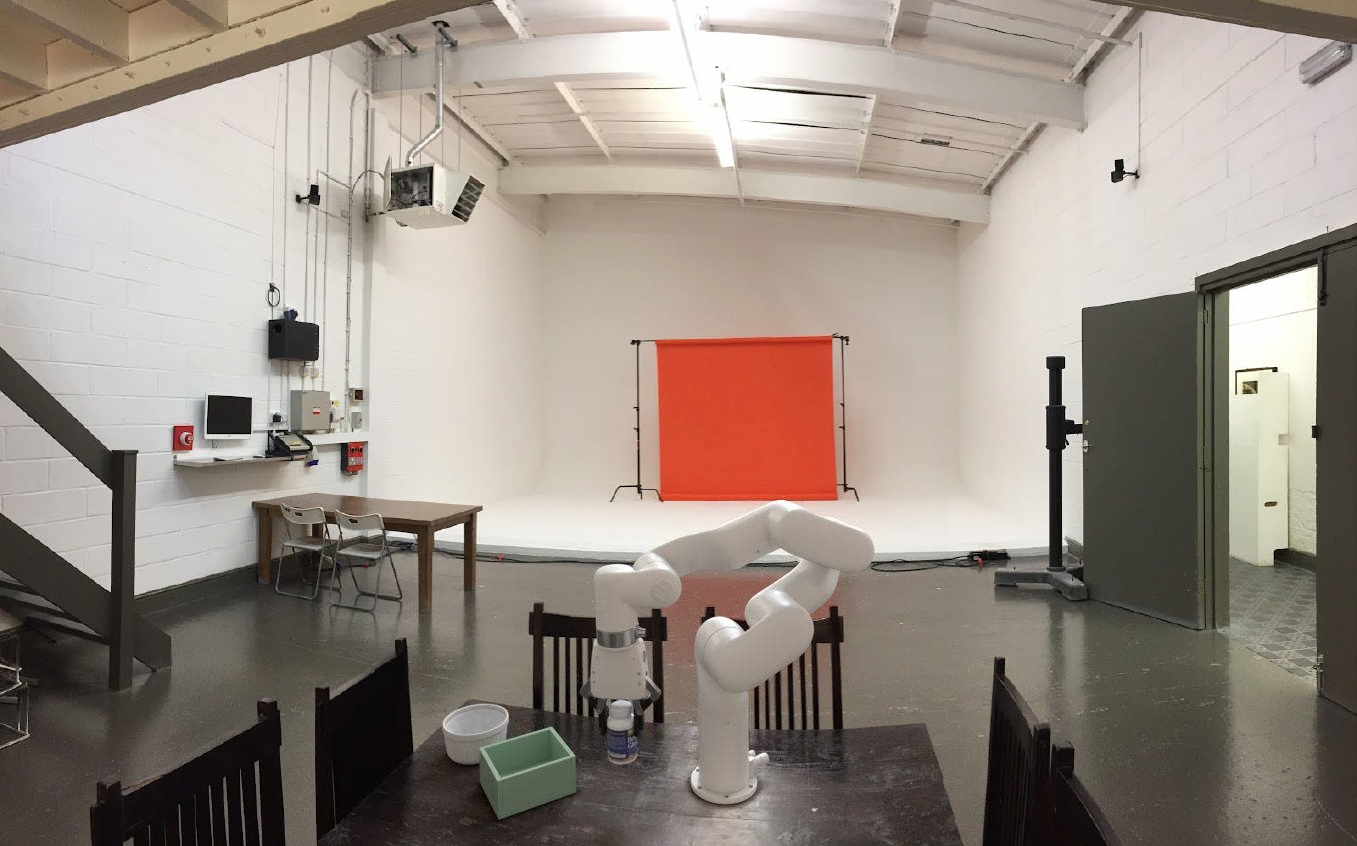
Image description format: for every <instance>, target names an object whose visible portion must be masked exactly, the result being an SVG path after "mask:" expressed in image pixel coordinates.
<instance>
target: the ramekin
mask: <svg viewBox="0 0 1357 846" xmlns="http://www.w3.org/2000/svg"><path fill="white" fill-rule="evenodd" d="M509 715H510V714H509V711H508V710H507V709H506V708H505V707H503V706H501V705H498V704H493V703H477V704H476V703H475V704H470V705H466V706H463V707H461V708H458V709H456V710H453V711H452V712H450V713H449V714H448V715H447V716H446V717H445V718H444V719H443V721H442V727H441V728H442V730H441V731H442V734H443V738H444V744H445V749H446V754H447V756H448V757H449V758H450V759H451V761H453V762H455V763H457V764H459V765H465V766H466V765H467V766H468V765H477V764H480V761H479V748H480V747H484V746H487V745H491V744H494V743H498V742H501V741H504V740H507V733H508V724H509V722H510V718H509Z"/></svg>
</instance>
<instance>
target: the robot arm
mask: <svg viewBox="0 0 1357 846" xmlns="http://www.w3.org/2000/svg"><path fill="white" fill-rule="evenodd" d="M780 549H781V550H782V551H784V552H787V553H788V554H790V555H792V556H795V557H797V558H800V561H799V563H798V564H797V565H796V566H795V567H794V568H793V569H792V570H791V571H789V572H787V574H785V575H784V576H782V577H780V578H779V579H777V580H776V581H774V582H773V583H772V584H770V585H769V586H767V587H765V588H764V589H763V590H761V591H759V592H758V593H756V594H755V595H753V596H752V597H751V598H750V599H749V600H748V602H747V603H746V605H745V608H744V618H745V621H746V624H747V626H748V627H749V629H747V630H746V631H745V630H744V628H742V626H740V625H739V624H738V623H737V622H736V621H734V620H732V619H730V618H728V617H725V616H714V617H710V618H709V619H706V620H705V621H704V622H703V623H702V624H701V625H700V626H699V628H698V629H697V632H696V634H695V638H694V660H695V669H696V679H697V715H698V716H697V728H698V729H697V732H698V737H697V739H698V765H697V766H696V768H694V770H692V772H691V775H690V786H691V787H690V788H691V789H692V791H693V792H694V793H695V794H696V796H698V797H699V798H701V799H702V800H704V801H706V802H709V803H712V804H719V805H734V804H738V803H741V802H744V801H747V800H748V799H750V798H751V797H752V796H753V795H754V794H755V793H756V792H757V790H758V789H757V788H758V777H757V775H756V773H755V771H756V770H757V769H758V767H761V766H764V765H767V764H769V763H770V756H769V754H768V753H767V752H762V753H759V754H757V755H756V752H755V750H754V749H751V750H750V740H749V739H750V734H749V732H750V731H749V730H750V729H749V728H750V727H749V726H750V723H749V722H750V720H749V714H750V713H749V705H750V704H749V703H750V702H749V701H750V700H749V692H750V691H751V690H753V689H755V688H757V687H758V686H760V685H761V684H763V683H765V682H766V681H767V680H769V679H770V678H772V677H773V676H774V675H776V674H778V673H779V672H781V671H782V670H783V669H785V668H786V667H788V665H790V664H792V663H793V662H794V661H796V660H798V659H799V658H800V657H801V656H802V655H803V654H804V653H805V652H806V651H807V650H808V648H809V647H810V645H811V643H812V640H813V639H814V638H813V637H814V633H815V625H814V621H813V619H812V617H811V614H813V613H814V612H816V611H817V610H818V609H820V608H821V607H822V606H823V605H824V604H825V603H826V602H828V600H829V599H830V598H831V597H832V595H834V592H835V590H836V587H837V585H838V581H839V577H840V573H844V574H857V573H861V572H863V571H865V570H867V568H868V567H869V566H870V565H871V564H872V562H873V560H874V557H875V545H874V541H873V539H872V538H871V536H870V535H869V534H868V533H867V532H866V531H864V530H863V529H862V528H860V527H857V526H855V525H853V524H850V523H848V522H846V521H843V520H840V519H838V518H835V517H832V516H824V515H822V514H819V513H816V512H815V511H813V510H810V509H807V508H805V507H803V506H801V505H798V504H796V503H793V502H791V501H788V500H783V499H781V500H778V499H777V500H774V501H771V502H769V503H766V504H764V505H762V506H759V507H757V508H755V509H753V510H751V511H749V512H746V513H745V514H743V515H741V516H738V517H736V518H733V519H732V520H730V521H728V522H726V523H724V524H721V525H719V526H717V527H714V528H710V529H707V530H701V531H699V532H696V533H692V534H687V535H683V536H680V537H678V538H675V539H672V540H669V541H667V542H665V543H663V544H661V545H659V546H657V547H655V548H653V549H650V550H649V551H646V552H645V553H643V554H642V555H641V556H639V558H637V559H636V561H634V564H633V565H632V566H630V565H627V564H622V563H615V564H614V563H612V564H607V565H603V566H601V567H599V568H598V569H597V570H596V571H595V572H594V576H593V587H594V589H593V590H594V612H595V631H596V632H595V633H596V639H595V640H594V642H593V646H592V651H591V663H590V677H589V678H588V679H587V681H586V682H585V683H584V684H583V686H582V687H581V688H580V690H579V691H578V693H579V695H580V696H582V698H584V699H585V700H586V701H587V702H588V704H589V705H590V706H592V708H593V709H594V710H595V713H596V714H597V716H598V717H597V719H598V728H599V729H601V732H600V733H601V736H607V719H608V717H609V716H610V707H609V706H608V705H607V701H608V700H625V701H631V704H632V706H633V708H634V710H635V711H634V713H633V714H634V736H635V737H637V738H639V737H640V734H641V732H642V731H643V730H644V729H645V711H646V710H648V709H649V707H650V706H652V704H654V703H655V702H656V701H657V700H658V699H659V698H660V697H661V694H662V691H661V689H660V688H659V687H658V686H657V684H656V683H655V682H654V681H653V680H652V679H651V678H650V672H649V663H648V656H647V650H646V646H645V642H644V639H643V638H645V637H647V629H646V628H642V627H640V623H639V618H638V617H639V616H638V608H640V609H665V608H669V607H671V606H672V605H674V604H675V603H677V601H678V600H679V599H680V596H681V594H682V590H683V589H682V587H683V586H682V581H681V578H683V577H684V576H686V575H689V574H693V573H695V572H699V571H707V570H710V571H711V570H713V571H725V572H726V571H727V572H728V571H736V570H739V569H742V568H743V567H745V566H747V565H748V564H751V563H753V562H755V561H757V560H759V559H761V558H763V557H765V556H767V555H769V554H772V553H773V552H776V551H777V550H780ZM642 637H643V638H642ZM646 690H647V691H648V692H649V693H650V694H648V695H646ZM645 696H646V697H645ZM644 697H645V698H644Z"/></svg>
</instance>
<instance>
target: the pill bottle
mask: <svg viewBox="0 0 1357 846" xmlns="http://www.w3.org/2000/svg"><path fill="white" fill-rule="evenodd" d="M634 714H635V713H633V703H632V702H630V700H621V699H619V700H616V701H613V702H612V703H610V705H609V717H608V719H607V733H606V739H607V742H606V743H607V757H608V760H609V762H610V763H612V764H614V765H618V766H623V765H628V764H631V763H633V762H634V761H636V759H637V757H638V753H639V752H638V751H639V750H638V737H635V736H634Z"/></svg>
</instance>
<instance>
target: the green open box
mask: <svg viewBox="0 0 1357 846" xmlns="http://www.w3.org/2000/svg"><path fill="white" fill-rule="evenodd" d="M576 759H577V758H576V755H575V753H574V752H573V751H572V750H571V749H570V747H569V746H568V745H567V744H566V742H565V741H564V740H563V738H562V737H561V736H560V734H559V733H558V732H557V731H556V730H555V729H554V727H553V726H549V727H546V728H543V729H539V730H536V731H531V732H529V733H525V734H522V735H518V736H514V737H512V738H509V739H506V740H504V741H501V742H498V743H494V744H491V745H487V746H484V747H480V748H479V761H480V763H479V783H480V785H481V788H482V790H483V791H484V794H485V795H486V797H487V799H488V802H489V804H490V806H491V808H492V809H493V812H494V813H495V815H496V817H497V820H502V819H505V818H508V817H510V816H513V815H517V814H519V813H522V812H524V811H527V810H530V809H533V808H536V807H539V806H541V805H544V804H547V803H550V802H552V801H556V800H558V799H562V798H564V797H567V796H570V795H573V794H576V793H577V764H576V763H577V762H576Z"/></svg>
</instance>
